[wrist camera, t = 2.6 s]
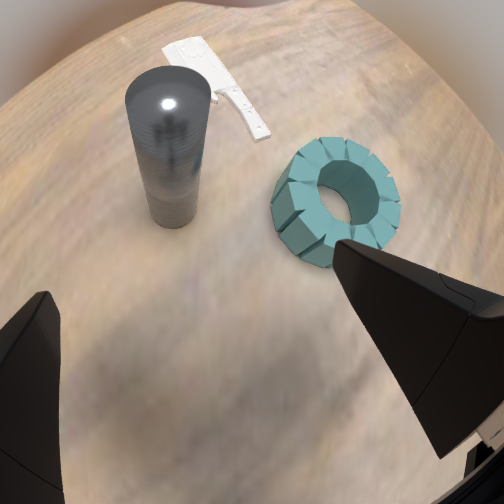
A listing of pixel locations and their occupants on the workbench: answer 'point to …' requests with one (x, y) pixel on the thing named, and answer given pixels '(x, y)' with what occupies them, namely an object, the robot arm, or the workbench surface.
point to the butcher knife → (216, 80)
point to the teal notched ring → (349, 187)
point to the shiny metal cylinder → (169, 139)
